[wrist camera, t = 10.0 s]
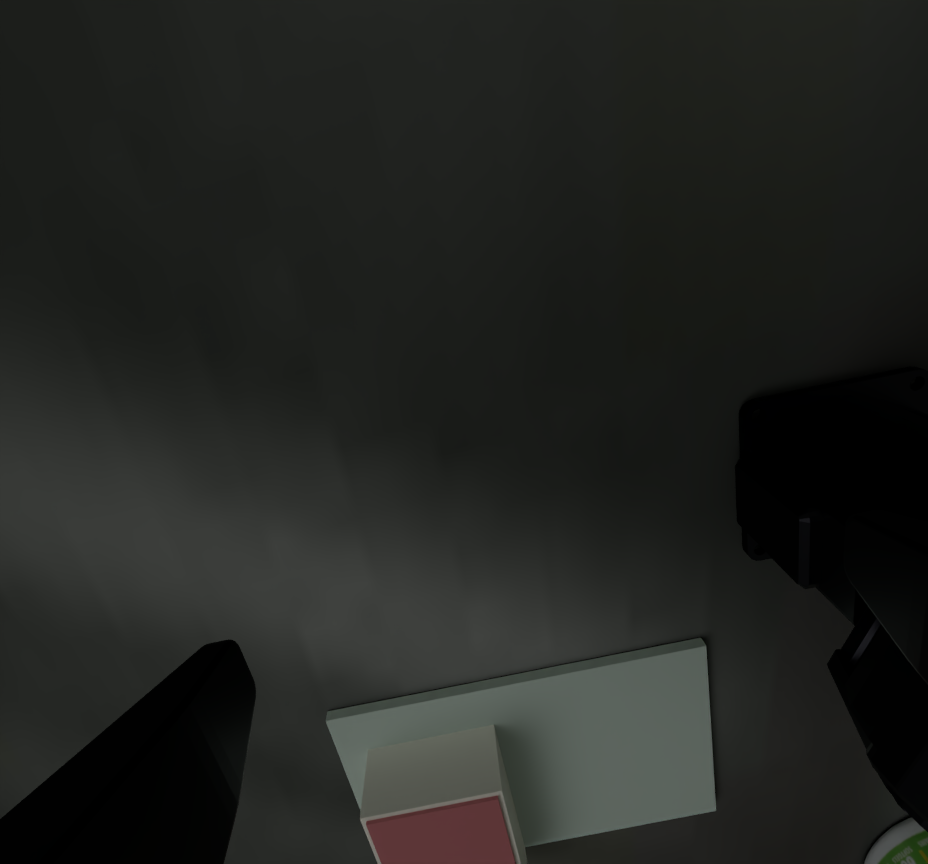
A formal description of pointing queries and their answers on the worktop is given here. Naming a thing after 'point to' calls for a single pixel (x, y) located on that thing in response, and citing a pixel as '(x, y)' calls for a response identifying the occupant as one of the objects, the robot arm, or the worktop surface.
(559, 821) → the mat
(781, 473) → the robot arm
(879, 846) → the supplement bottle
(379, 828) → the card deck
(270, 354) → the worktop surface
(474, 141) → the worktop surface
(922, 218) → the worktop surface
